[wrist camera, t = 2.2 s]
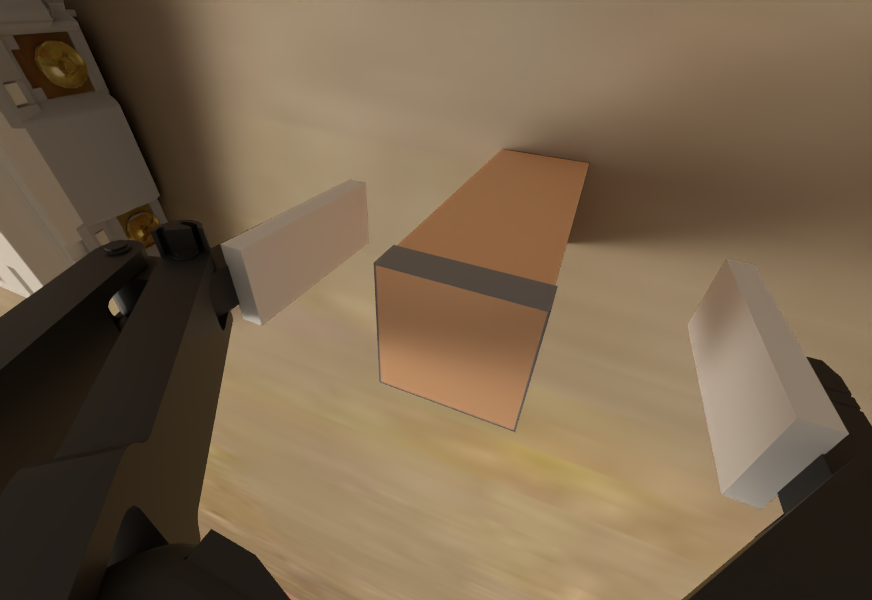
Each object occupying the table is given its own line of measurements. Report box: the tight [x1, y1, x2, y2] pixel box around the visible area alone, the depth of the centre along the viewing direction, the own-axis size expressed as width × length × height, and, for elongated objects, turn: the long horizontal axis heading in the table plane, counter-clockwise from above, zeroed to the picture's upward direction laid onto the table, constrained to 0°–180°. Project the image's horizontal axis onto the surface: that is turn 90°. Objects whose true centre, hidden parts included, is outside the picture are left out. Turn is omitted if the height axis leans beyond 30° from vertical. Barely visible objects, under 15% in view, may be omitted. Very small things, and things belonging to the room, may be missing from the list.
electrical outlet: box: [0, 0, 168, 298], centre depth 25 cm, size 12×28×10 cm, turn 175°
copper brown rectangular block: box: [374, 149, 589, 432], centre depth 14 cm, size 4×4×12 cm
